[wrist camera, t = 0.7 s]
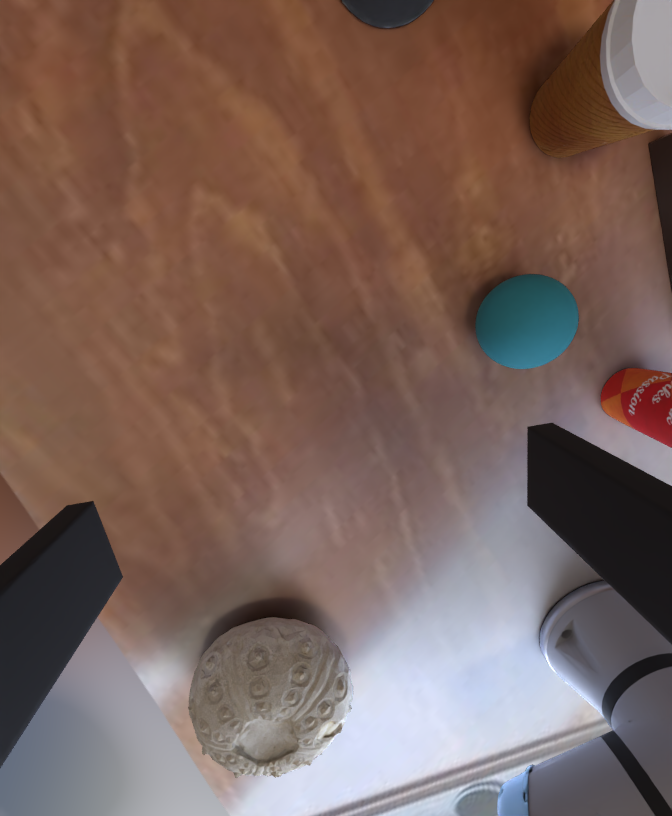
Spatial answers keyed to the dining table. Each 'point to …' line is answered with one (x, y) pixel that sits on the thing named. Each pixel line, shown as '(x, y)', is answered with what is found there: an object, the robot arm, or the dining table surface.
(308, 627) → the decorative shell
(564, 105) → the disposable coffee cup
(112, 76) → the dining table surface
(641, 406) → the paper cup
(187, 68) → the dining table surface
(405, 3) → the milk frother
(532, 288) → the ball
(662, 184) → the block
